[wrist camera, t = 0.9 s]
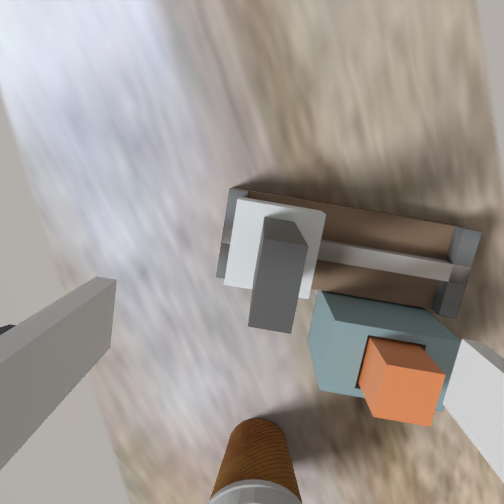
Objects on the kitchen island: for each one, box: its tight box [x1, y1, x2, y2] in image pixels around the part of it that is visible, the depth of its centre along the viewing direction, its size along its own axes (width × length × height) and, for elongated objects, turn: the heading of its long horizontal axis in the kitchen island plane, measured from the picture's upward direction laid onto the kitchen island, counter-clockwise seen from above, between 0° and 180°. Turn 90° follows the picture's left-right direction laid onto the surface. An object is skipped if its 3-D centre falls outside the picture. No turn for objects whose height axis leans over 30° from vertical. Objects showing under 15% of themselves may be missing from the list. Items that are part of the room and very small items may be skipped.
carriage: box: [224, 197, 326, 334], centre depth 27 cm, size 7×7×13 cm
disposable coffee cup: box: [207, 419, 302, 504], centre depth 36 cm, size 10×10×12 cm
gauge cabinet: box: [308, 290, 461, 411], centre depth 35 cm, size 6×11×9 cm, turn 80°
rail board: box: [216, 187, 482, 318], centre depth 36 cm, size 8×22×4 cm, turn 80°
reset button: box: [357, 335, 446, 427], centre depth 30 cm, size 4×4×7 cm
